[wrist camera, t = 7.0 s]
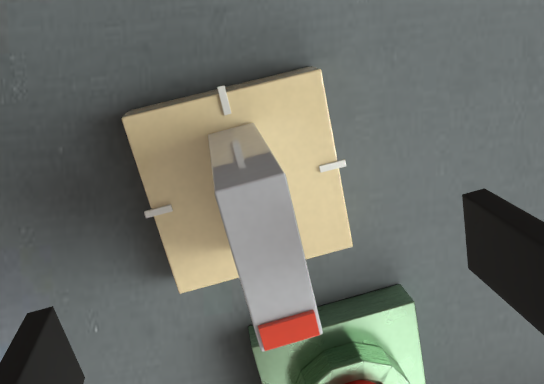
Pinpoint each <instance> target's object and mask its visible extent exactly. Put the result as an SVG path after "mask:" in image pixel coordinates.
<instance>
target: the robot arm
mask: <svg viewBox="0 0 544 384" xmlns="http://www.w3.org/2000/svg"><path fill="white" fill-rule="evenodd" d="M462 197H463V209H464V221H465V234H466V246H467V258H468V268H469V269H470V270H471V271H472V272H473V273H474V274H475V275H477V276H478V277H479V278H480V279H481V280H482V281H483V282H484V283H486V284H487V285H488V286H489V287H490V288H491V289H492V290H493V291H495V292H496V293H497V294H498V295H499V296H500V297H501V298H502V299H504V300H505V301H506V302H507V303H508V304H509V305H510V306H512V307H513V308H514V309H515V310H516V311H517V312H518V313H519V314H521V315H522V316H523V317H524V318H525V319H526V320H527V321H528V322H530V323H531V324H532V325H533V326H534V327H535V328H536V329H537V330H539V331H540V332H541V333H542V334H543V335H544V222H543V221H541V220H539V219H537V218H536V217H534V216H532V215H530V214H529V213H527V212H525V211H523V210H522V209H520V208H518V207H516V206H515V205H513V204H511V203H509V202H507V201H506V200H504V199H502V198H500V197H499V196H497V195H495V194H493V193H492V192H490V191H488V190H486V189H481V190H477V191H474V192H470V193H466V194H463V195H462ZM84 379H85V377H84V374H83V372H82V370H81V368H80V366H79V363H78V361H77V359H76V357H75V354H74V352H73V350H72V348H71V346H70V343H69V341H68V339H67V337H66V334H65V332H64V330H63V328H62V326H61V323H60V321H59V319H58V317H57V314H56V312H55V310H54V308H53V306H52V307H49V308H45V309H41V310H38V311H34V312H31V313H27V315H26V317H25V318H24V320H23V322H22V324H21V326H20V328H19V329H18V331H17V333H16V335H15V337H14V338H13V340H12V342H11V344H10V346H9V348H8V349H7V351H6V353H5V355H4V357H3V358H2V360H1V362H0V384H83V383H84Z"/></svg>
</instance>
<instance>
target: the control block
mask: <svg viewBox="0 0 544 384" xmlns="http://www.w3.org/2000/svg"><path fill="white" fill-rule="evenodd" d="M317 310H318V314H319V318H320V322H321V326H322V331H323V333H322V334H321V335H318V336H315V337H312V338H308V339H305V340H302V341H298V342H295V343H291V344H288V345H285V346H281V347H278V348H275V349H271V350H268V351H263V352H262V351H261V350H260V347H259V343H258V340H257V337H256V333H255V330H254V326H253V325H252V326H249V327H248V330H249V336H250V341H251V347H252V351H253V354H254V358H255V361H256V365H257V368H258V372H259V375H260V379H261V382H262V384H345V383H348V382H352V381H355V380H367V381H371V382H374V383H376V384H426V382H425V375H424V368H423V360H422V353H421V346H420V338H419V331H418V324H417V317H416V309H415V302H414V301H413V300H412V298H411V297H410V296H409V295H408V293H407V292H406V291H405V290H404V288H403V287H402V286H401V285H400V284H398V285H395V286H391V287H388V288H384V289H380V290H377V291H373V292H370V293H366V294H363V295H359V296H355V297H352V298H348V299H345V300H341V301H338V302H334V303H330V304H327V305H323V306H320V307H317Z"/></svg>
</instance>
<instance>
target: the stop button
mask: <svg viewBox="0 0 544 384" xmlns="http://www.w3.org/2000/svg"><path fill="white" fill-rule="evenodd" d="M345 384H376V383H374V382H371V381H367V380H355V381H352V382H348V383H345Z"/></svg>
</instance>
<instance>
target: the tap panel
mask: <svg viewBox="0 0 544 384" xmlns="http://www.w3.org/2000/svg"><path fill="white" fill-rule="evenodd" d="M122 122H123V125H124V129H125V132H126V135H127V138H128V141H129V144H130V147H131V150H132V153H133V156H134V159H135V162H136V165H137V168H138V171H139V174H140V177H141V180H142V183H143V186H144V189H145V192H146V195H147V198H148V201H149V204H150V207H151V209H150V210H146V211H144V214H145V217H146V218H149V217H153V216H154V219H155V222H156V225H157V228H158V231H159V234H160V237H161V240H162V243H163V246H164V249H165V252H166V255H167V258H168V261H169V264H170V267H171V270H172V273H173V276H174V279H175V282H176V285H177V288H178V291H179V293H184V292H188V291H192V290H195V289H199V288H203V287H206V286H210V285H214V284H217V283H221V282H225V281H228V280H232V279H236V278H239V275H238V272H237V269H236V265H235V262H234V258H233V255H232V252H231V248H230V245H229V241H228V238H227V235H226V231H225V228H224V224H223V221H222V218H221V214H220V211H219V207H218V204H217V201H216V197H215V194H214V186H213V178H212V169H211V161H210V153H209V144H208V134H212V133H215V132H219V131H223V130H227V129H231V128H234V127H238V126H242V125H246V124H249V123H254V124H255V126H256V127H257V129H258V130H259V132H260V134H261V135H262V137H263V138H264V140H265V142H266V143H267V145H268V147H269V148H270V150H271V151H272V153H273V155H274V156H275V158H276V160H277V161H278V163H279V164H280V166H281V168H282V169H283V171H284V172H285V174H286V178H287V182H288V187H289V191H290V195H291V199H292V204H293V208H294V212H295V216H296V221H297V225H298V229H299V233H300V237H301V242H302V246H303V250H304V254H305V259H309V258H313V257H316V256H320V255H324V254H327V253H331V252H335V251H338V250H342V249H346V248H349V247H352V246H353V243H352V238H351V232H350V227H349V221H348V216H347V210H346V204H345V199H344V193H343V188H342V182H341V177H340V171H339V168H341V167H345V166H346V162H345V159H343V160H339V161H338V160H337V155H336V149H335V144H334V138H333V132H332V127H331V121H330V116H329V110H328V105H327V99H326V94H325V88H324V83H323V77H322V72H321V69H318V68H315V67H312V66H310V67H306V68H302V69H298V70H294V71H289V72H285V73H281V74H277V75H273V76H269V77H265V78H261V79H257V80H253V81H249V82H245V83H240V84H236V85H232V86H228V87H225V86H224V85H223V86H218V87H217V89H216V90H212V91H208V92H204V93H200V94H196V95H191V96H187V97H183V98H179V99H175V100H171V101H167V102H163V103H159V104H155V105H151V106H147V107H142V108H138V109H134V110H130V111H127V112H126V113H125V115H124V116H123V117H122Z"/></svg>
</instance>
